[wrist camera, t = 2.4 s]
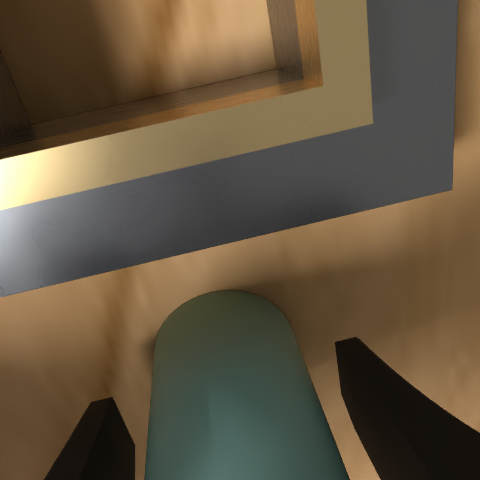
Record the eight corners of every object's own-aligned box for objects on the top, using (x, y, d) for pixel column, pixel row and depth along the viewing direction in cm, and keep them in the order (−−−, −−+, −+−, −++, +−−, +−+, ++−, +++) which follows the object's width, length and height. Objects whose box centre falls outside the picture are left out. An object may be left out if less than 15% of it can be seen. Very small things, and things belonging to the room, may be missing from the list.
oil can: (175, 414, 15) (172, 771, 8) (135, 310, 13) (81, 661, 6) (301, 383, 15) (415, 705, 8) (282, 274, 13) (411, 574, 6)
